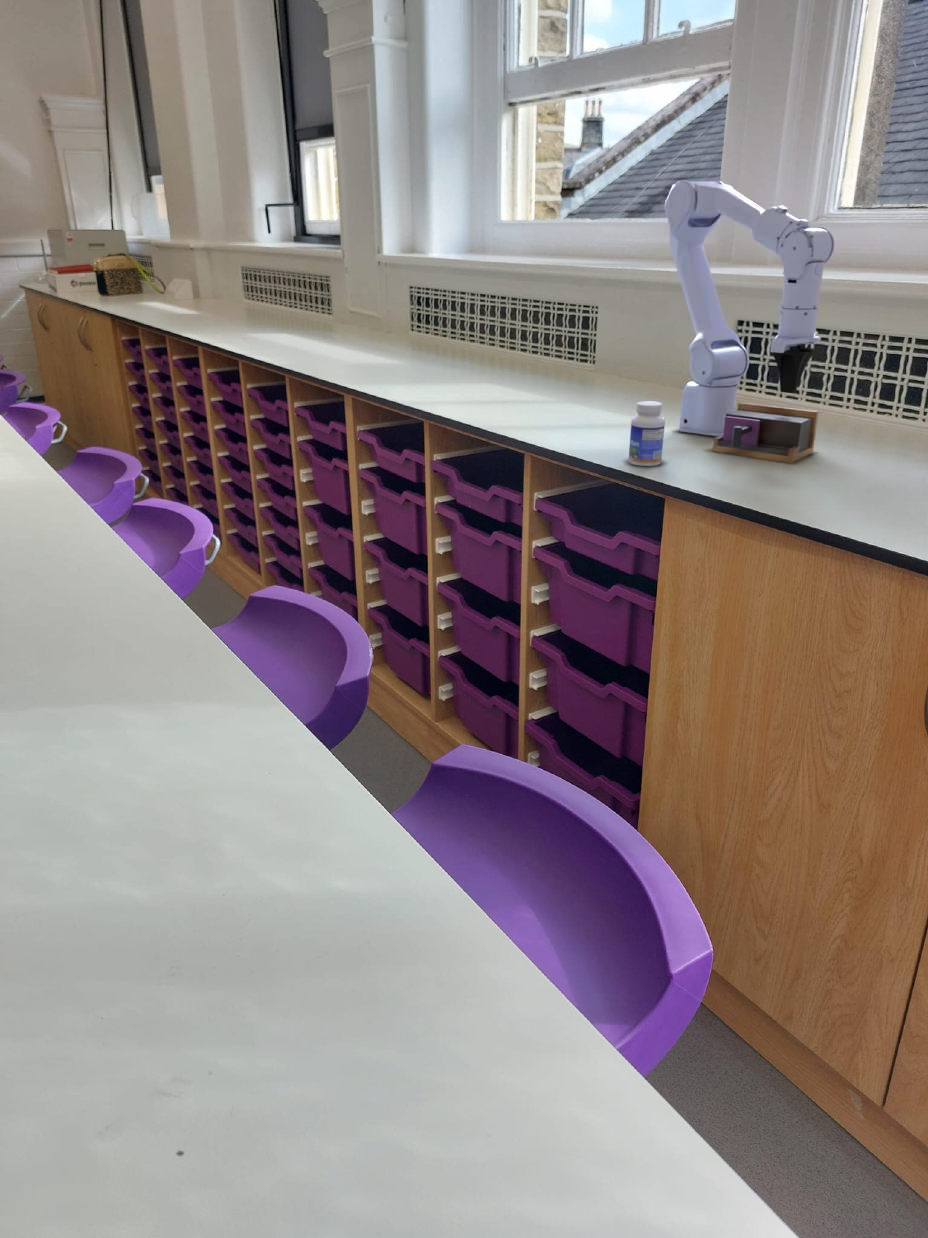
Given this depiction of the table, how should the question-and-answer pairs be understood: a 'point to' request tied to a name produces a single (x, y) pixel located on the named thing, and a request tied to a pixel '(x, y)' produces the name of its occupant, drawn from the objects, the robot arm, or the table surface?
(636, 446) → the pill bottle
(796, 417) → the sliding door box
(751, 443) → the sliding door
